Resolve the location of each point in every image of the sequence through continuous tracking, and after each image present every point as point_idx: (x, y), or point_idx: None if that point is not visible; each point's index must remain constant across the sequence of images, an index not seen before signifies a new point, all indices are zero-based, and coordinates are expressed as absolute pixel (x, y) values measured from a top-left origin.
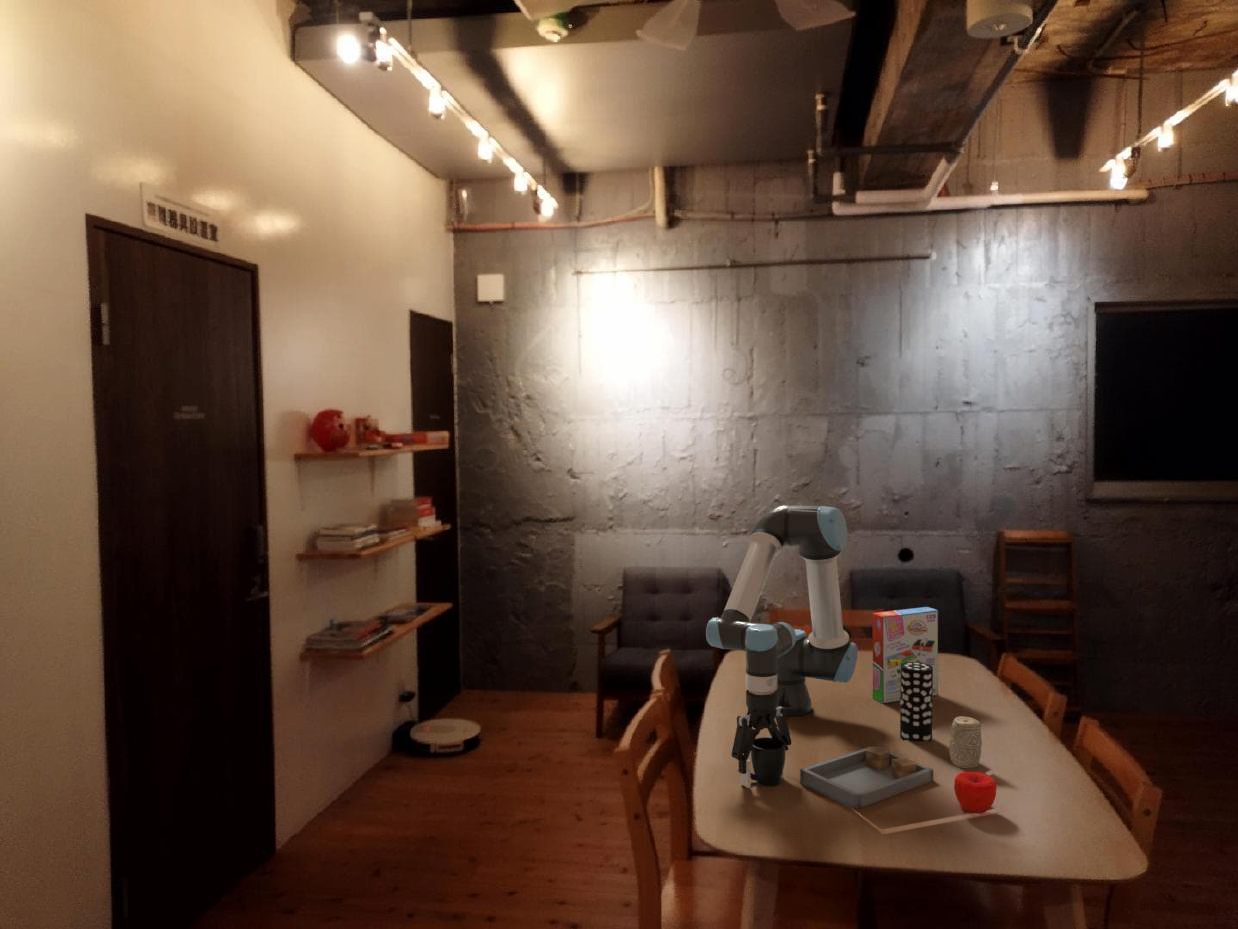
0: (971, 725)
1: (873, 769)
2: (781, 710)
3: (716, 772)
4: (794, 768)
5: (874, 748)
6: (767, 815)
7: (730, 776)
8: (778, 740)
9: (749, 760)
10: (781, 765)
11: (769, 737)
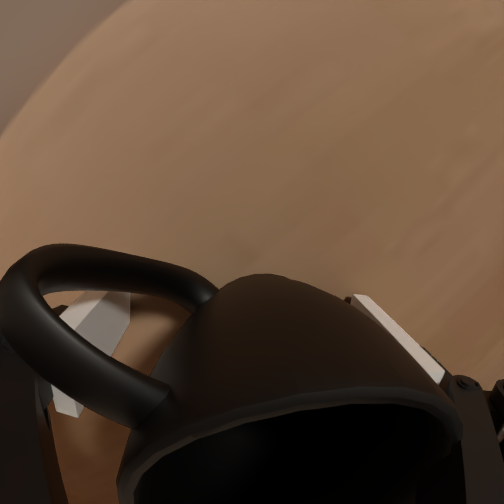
0: None
1: (501, 436)
2: None
3: (143, 56)
4: (455, 303)
5: None
6: (63, 455)
7: (157, 142)
8: (417, 498)
9: (73, 414)
10: (276, 473)
11: (454, 433)
